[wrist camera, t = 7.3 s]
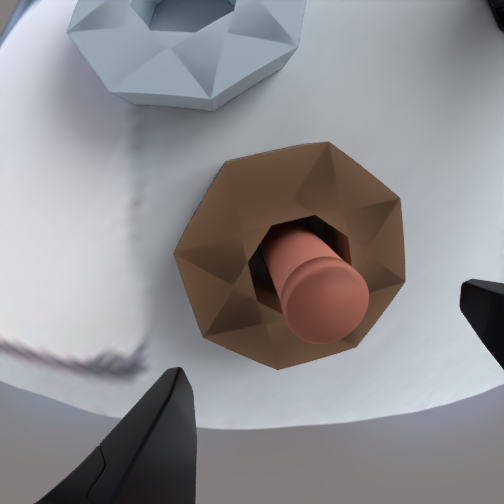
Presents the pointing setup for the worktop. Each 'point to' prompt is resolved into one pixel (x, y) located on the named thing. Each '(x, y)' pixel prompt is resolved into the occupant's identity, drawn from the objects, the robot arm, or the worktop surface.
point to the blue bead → (185, 50)
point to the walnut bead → (255, 228)
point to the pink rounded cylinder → (313, 284)
